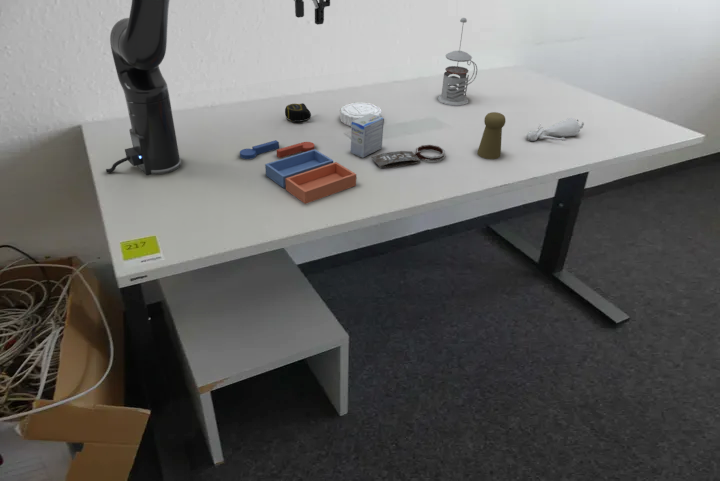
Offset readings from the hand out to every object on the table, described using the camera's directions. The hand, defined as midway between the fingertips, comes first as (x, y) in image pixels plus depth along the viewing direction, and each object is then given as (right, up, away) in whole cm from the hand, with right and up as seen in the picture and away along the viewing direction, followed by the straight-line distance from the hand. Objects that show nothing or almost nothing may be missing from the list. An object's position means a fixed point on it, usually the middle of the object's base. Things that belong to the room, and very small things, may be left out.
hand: (309, 20), depth 140 cm
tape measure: (-5, -21, +20) cm, 29 cm away
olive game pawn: (+46, -33, +4) cm, 57 cm away
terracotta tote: (+4, -44, -14) cm, 46 cm away
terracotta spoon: (-3, -33, +2) cm, 33 cm away
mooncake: (+13, -21, +21) cm, 32 cm away
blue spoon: (-13, -34, 0) cm, 36 cm away
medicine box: (+14, -33, +3) cm, 36 cm away
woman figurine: (+67, -27, +15) cm, 74 cm away
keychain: (+25, -35, 0) cm, 43 cm away
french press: (+43, -11, +37) cm, 58 cm away
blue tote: (-2, -40, -8) cm, 41 cm away
